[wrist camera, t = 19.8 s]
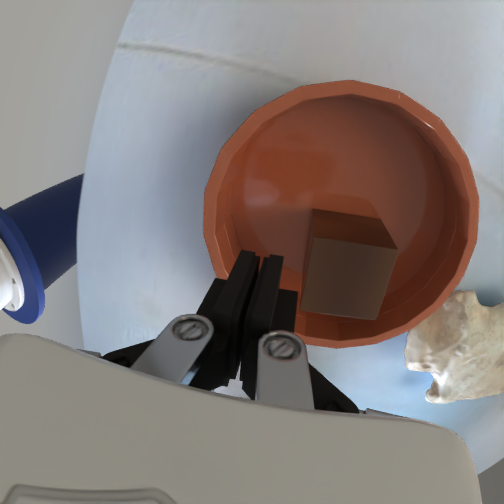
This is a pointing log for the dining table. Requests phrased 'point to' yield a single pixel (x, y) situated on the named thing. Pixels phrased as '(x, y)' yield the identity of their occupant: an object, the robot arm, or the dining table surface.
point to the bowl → (347, 197)
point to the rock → (459, 349)
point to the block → (346, 265)
